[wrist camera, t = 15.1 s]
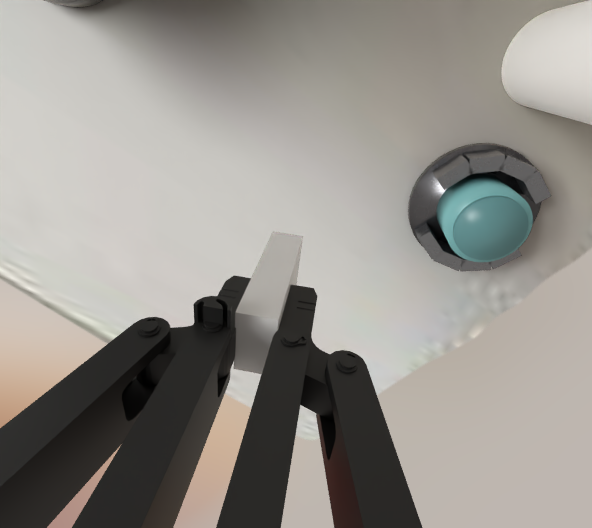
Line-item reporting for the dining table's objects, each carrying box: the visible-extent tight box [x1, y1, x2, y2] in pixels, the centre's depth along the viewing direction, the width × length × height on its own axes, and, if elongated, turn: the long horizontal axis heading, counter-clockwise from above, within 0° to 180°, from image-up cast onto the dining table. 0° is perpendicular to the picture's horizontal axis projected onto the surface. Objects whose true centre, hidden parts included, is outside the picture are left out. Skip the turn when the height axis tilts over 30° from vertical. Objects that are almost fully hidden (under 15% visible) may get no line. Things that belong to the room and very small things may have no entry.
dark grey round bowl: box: [408, 143, 551, 271], centre depth 40 cm, size 14×14×4 cm
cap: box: [437, 174, 533, 262], centre depth 38 cm, size 8×8×6 cm
